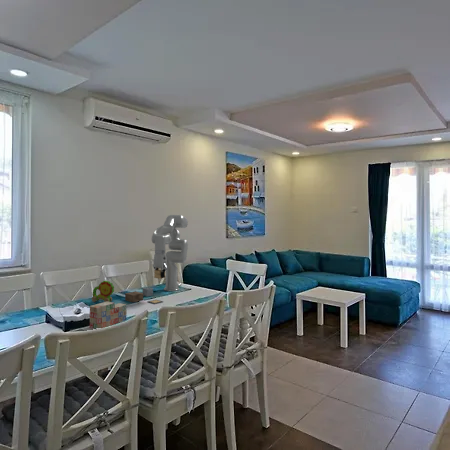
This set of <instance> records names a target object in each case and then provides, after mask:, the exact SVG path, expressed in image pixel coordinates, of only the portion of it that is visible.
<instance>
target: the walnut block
mask: <svg viewBox="0 0 450 450" xmlns="http://www.w3.org/2000/svg"><path fill="white" fill-rule="evenodd" d="M124 295H125V297H124V298H125V299H124V300H125V301H127V302H130V303H136V302H137V303H138V302H141V301H144V296H143V292H139V291H137V290H136V291H131V292H130V291H129V292H125V294H124Z"/></svg>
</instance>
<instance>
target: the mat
mask: <svg viewBox="0 0 450 450" xmlns="http://www.w3.org/2000/svg"><path fill="white" fill-rule="evenodd" d="M147 303H148V304H152V305H157V304H161V303H164V301H162V300H159V299H152V300H148V301H147Z"/></svg>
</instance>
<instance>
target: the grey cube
mask: <svg viewBox="0 0 450 450" xmlns="http://www.w3.org/2000/svg"><path fill="white" fill-rule="evenodd" d="M142 293H143V297H152V296H154V288H153V287H150V286H148V287H142Z"/></svg>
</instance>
